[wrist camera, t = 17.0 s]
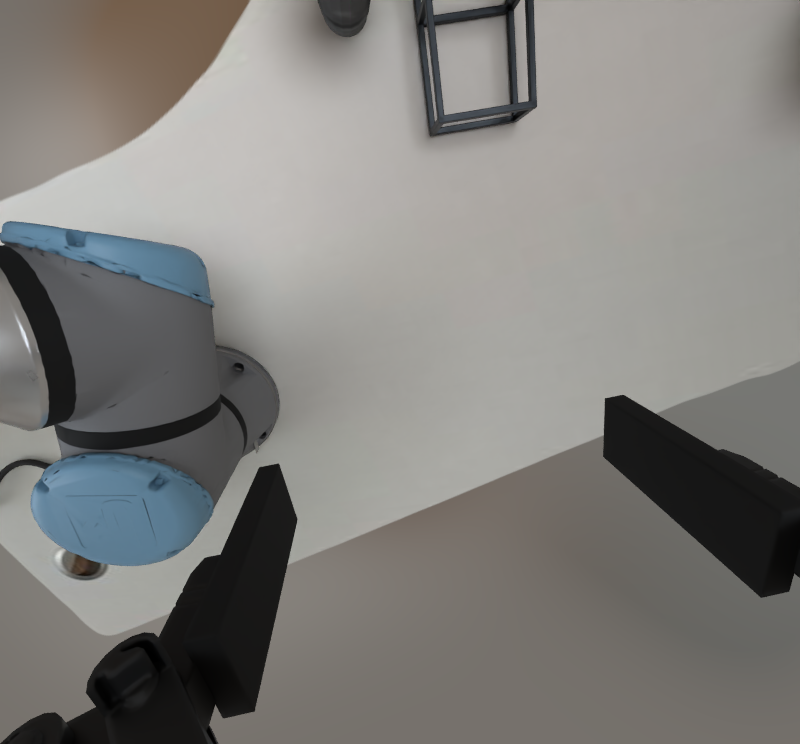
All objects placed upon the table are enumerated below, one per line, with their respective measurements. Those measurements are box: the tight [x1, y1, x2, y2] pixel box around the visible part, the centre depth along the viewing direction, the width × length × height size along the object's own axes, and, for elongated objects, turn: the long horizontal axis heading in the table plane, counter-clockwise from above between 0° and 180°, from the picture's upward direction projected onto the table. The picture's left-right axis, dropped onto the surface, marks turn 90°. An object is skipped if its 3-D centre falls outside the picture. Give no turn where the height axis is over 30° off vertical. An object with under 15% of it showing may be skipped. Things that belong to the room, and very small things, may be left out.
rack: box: [414, 0, 537, 136], centre depth 36 cm, size 10×20×5 cm, turn 10°
